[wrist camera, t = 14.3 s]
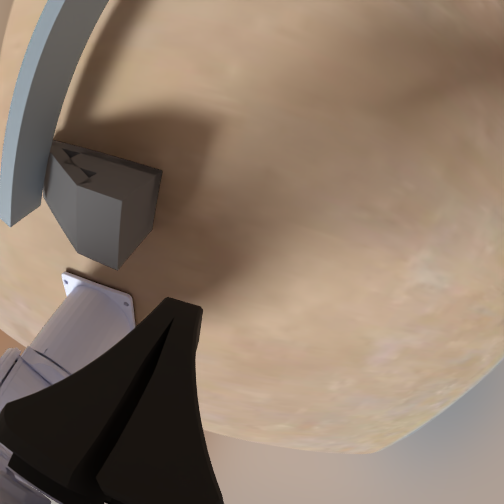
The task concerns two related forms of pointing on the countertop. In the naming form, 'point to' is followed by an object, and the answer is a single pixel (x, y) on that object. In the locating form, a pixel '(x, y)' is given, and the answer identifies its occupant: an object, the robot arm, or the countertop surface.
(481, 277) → the countertop surface
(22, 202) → the long pale blue beam
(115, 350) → the robot arm
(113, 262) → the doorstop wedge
